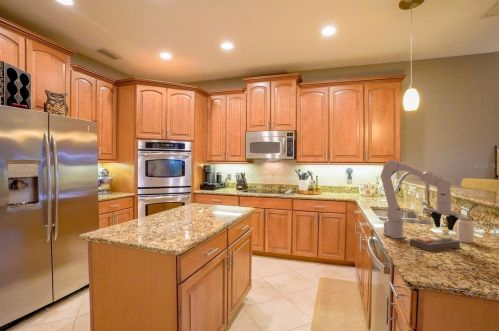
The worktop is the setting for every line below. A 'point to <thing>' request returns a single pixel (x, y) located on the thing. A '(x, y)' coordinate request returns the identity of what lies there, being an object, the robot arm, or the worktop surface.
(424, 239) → the terracotta key
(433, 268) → the worktop surface
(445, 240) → the sage key
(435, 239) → the cream key
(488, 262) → the worktop surface
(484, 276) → the worktop surface
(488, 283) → the worktop surface
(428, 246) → the keypad
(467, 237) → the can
